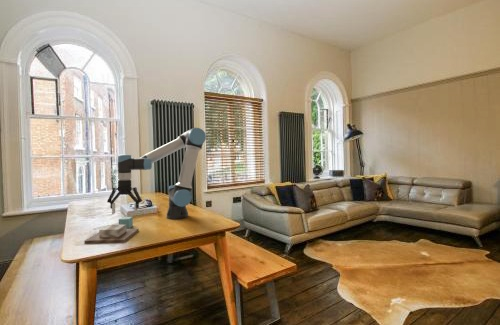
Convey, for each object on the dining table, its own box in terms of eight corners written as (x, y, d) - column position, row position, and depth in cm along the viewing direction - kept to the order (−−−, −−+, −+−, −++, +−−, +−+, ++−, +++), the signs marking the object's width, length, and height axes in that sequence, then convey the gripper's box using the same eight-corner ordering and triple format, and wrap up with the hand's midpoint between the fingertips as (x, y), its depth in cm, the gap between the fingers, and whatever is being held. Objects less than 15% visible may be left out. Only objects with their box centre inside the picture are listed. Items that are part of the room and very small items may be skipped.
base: (138, 231, 157) (138, 221, 157) (124, 242, 137) (123, 232, 137) (103, 231, 156) (103, 222, 156) (84, 243, 136) (84, 232, 136)
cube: (132, 226, 169) (132, 216, 168) (128, 228, 163) (128, 219, 162) (123, 226, 168) (122, 216, 168) (118, 229, 162) (118, 219, 162)
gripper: (100, 180, 160) (101, 215, 161) (143, 180, 161) (143, 214, 162) (107, 178, 168) (107, 212, 168) (147, 179, 169) (147, 212, 169)
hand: (124, 213), depth 165 cm, fingers open, 13 cm apart
